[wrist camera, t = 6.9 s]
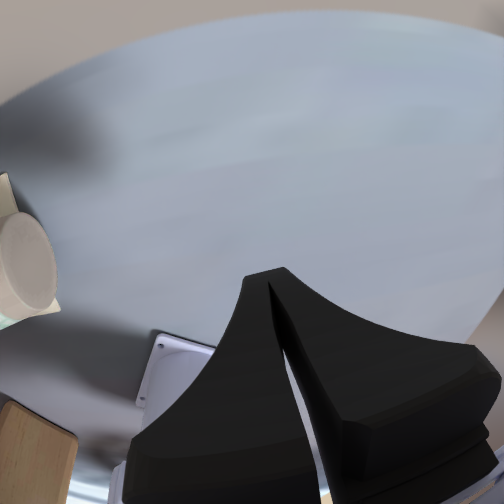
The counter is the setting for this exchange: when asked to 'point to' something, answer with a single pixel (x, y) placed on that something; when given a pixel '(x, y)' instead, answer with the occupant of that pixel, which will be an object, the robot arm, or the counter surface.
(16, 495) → the wooden block
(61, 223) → the counter surface
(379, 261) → the counter surface
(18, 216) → the coffee cup
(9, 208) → the mat
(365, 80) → the counter surface
